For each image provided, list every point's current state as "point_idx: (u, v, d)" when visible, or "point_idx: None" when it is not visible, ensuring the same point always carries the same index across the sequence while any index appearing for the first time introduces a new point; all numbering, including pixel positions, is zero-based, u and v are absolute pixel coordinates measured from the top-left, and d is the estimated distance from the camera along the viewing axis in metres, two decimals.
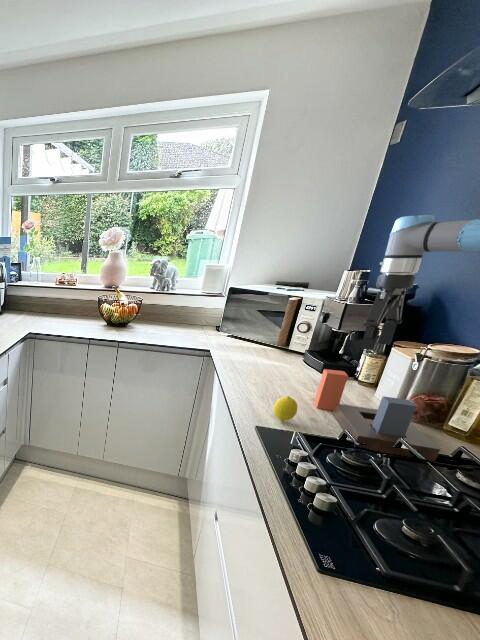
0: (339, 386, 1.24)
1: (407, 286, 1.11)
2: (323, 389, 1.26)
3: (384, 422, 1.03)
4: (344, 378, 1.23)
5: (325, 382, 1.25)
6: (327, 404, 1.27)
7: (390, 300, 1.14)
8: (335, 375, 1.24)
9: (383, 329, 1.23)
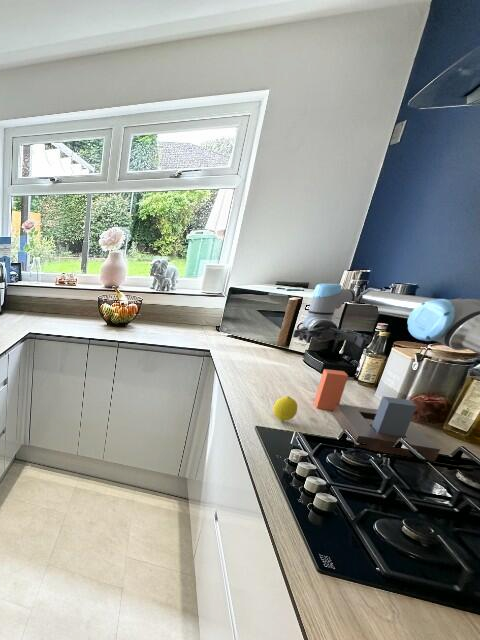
0: (339, 386, 1.24)
1: (320, 322, 1.45)
2: (323, 389, 1.26)
3: (384, 422, 1.03)
4: (344, 378, 1.23)
5: (325, 382, 1.25)
6: (327, 404, 1.27)
7: None
8: (335, 375, 1.24)
9: (357, 343, 1.31)
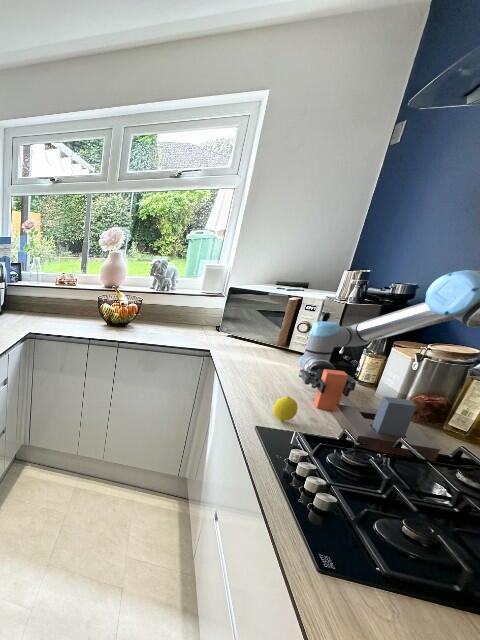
0: (339, 386, 1.24)
1: (317, 363, 1.38)
2: None
3: (384, 422, 1.03)
4: (344, 378, 1.23)
5: (325, 382, 1.25)
6: (327, 404, 1.27)
7: (313, 372, 1.37)
8: (335, 375, 1.24)
9: None
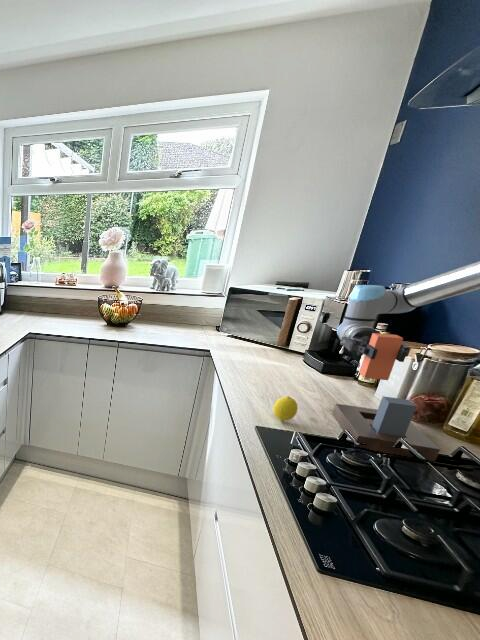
0: (392, 351, 1.09)
1: (361, 330, 1.23)
2: None
3: (384, 422, 1.03)
4: (398, 341, 1.07)
5: (375, 347, 1.10)
6: (377, 372, 1.11)
7: (357, 339, 1.21)
8: (387, 338, 1.08)
9: None
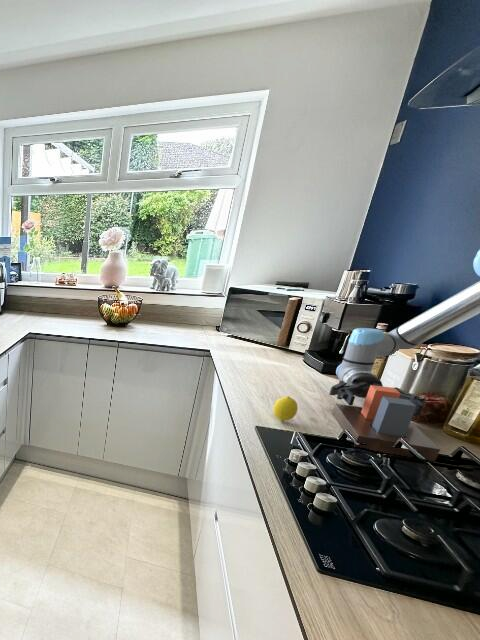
0: None
1: (360, 375, 1.24)
2: (370, 408, 1.12)
3: (384, 422, 1.03)
4: (396, 396, 1.08)
5: (373, 400, 1.11)
6: None
7: None
8: (385, 392, 1.09)
9: None
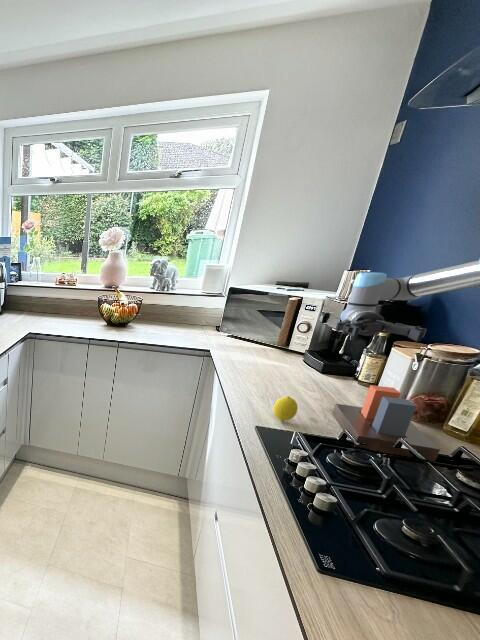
0: None
1: (364, 314, 1.31)
2: (370, 408, 1.12)
3: (384, 422, 1.03)
4: (396, 396, 1.08)
5: (373, 400, 1.11)
6: None
7: None
8: (385, 392, 1.09)
9: (410, 337, 1.17)
